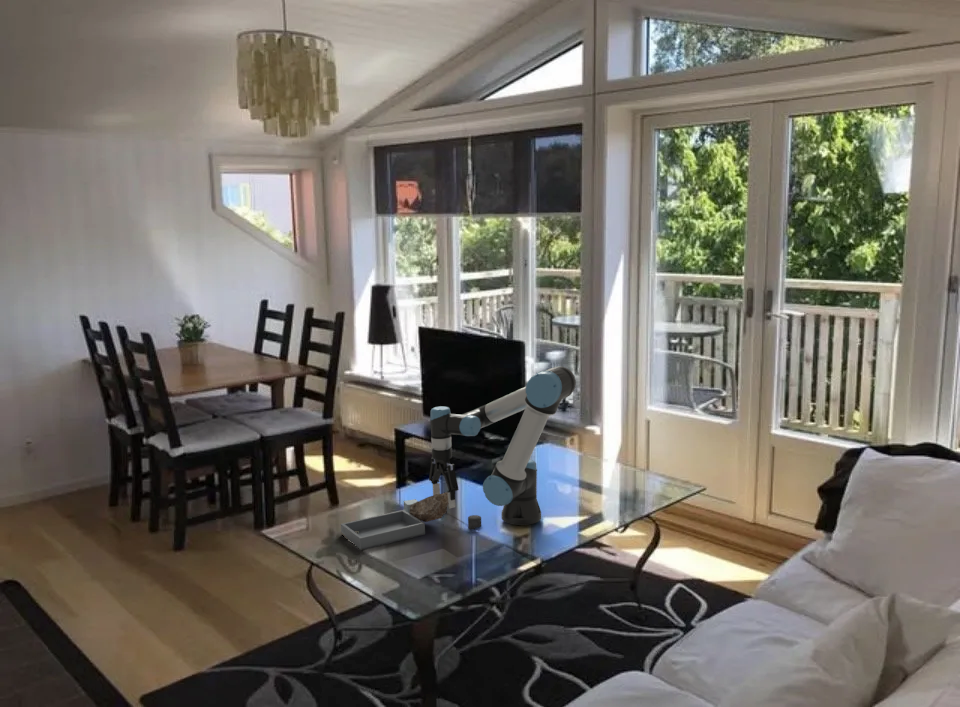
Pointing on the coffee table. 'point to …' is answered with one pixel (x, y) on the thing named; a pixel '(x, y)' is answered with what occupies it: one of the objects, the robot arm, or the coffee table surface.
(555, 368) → the robot arm
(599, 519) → the coffee table surface
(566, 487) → the coffee table surface
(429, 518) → the rock
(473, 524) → the dark grey cylinder
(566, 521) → the coffee table surface
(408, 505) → the bluegrey block
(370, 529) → the grey tray
